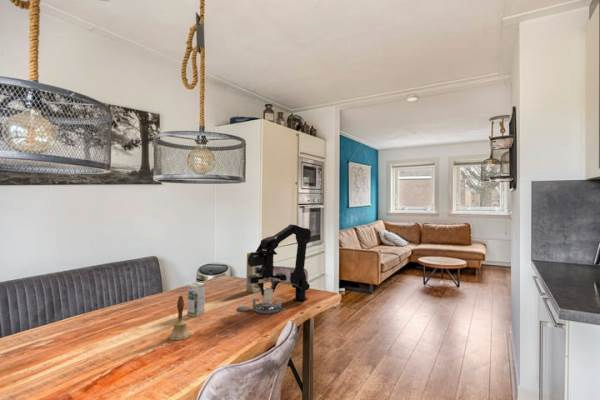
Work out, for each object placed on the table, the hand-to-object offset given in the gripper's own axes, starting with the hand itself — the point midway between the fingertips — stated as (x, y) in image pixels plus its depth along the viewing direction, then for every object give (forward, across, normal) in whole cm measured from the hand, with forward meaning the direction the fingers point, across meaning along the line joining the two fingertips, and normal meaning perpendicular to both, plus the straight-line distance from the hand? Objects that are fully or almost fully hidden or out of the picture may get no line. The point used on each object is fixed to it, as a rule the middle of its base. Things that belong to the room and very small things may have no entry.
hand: (267, 295), depth 159 cm
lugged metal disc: (+7, 0, 0) cm, 7 cm away
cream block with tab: (+3, 0, 0) cm, 3 cm away
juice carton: (+7, -3, -34) cm, 35 cm away
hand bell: (+7, +42, +17) cm, 46 cm away
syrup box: (+7, +34, -6) cm, 35 cm away
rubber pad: (+7, +11, -4) cm, 14 cm away
